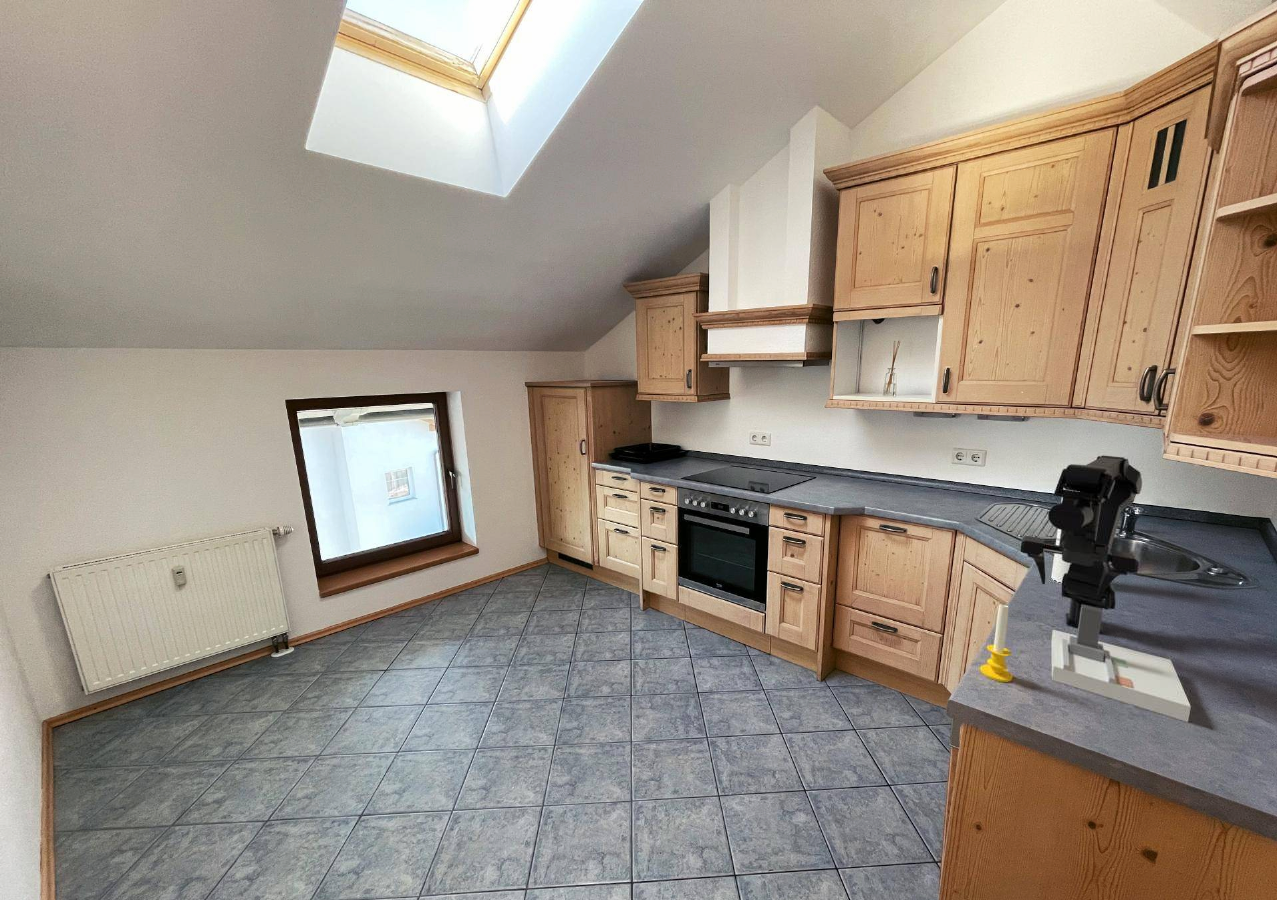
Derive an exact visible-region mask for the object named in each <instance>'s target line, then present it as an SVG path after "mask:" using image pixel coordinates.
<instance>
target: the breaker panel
mask: <svg viewBox="0 0 1277 900" xmlns="http://www.w3.org/2000/svg"><path fill="white" fill-rule="evenodd" d="M1070 636H1072V637H1076V638H1077V634H1076V635H1075V634H1072V633H1067V632H1064V631H1061V630H1060V631H1059V630H1056V629H1052V635H1051V641H1050V643H1051V644H1050V645H1051V680H1052V681H1055V682H1057V683H1061V684H1064V685H1066V686H1070V687H1072V688H1073V687H1074V688H1076V689H1079V690H1083V691H1086V692H1090V693H1093V694H1096V695H1099V696H1102V697H1105V698H1109V699H1112V700H1115V701H1118V702H1121V703H1125V704H1128V705H1131V706H1134V707H1138V708H1141V709H1145V710H1148V711H1151V712H1153V713H1157V714H1161V715H1164V716H1167V717H1170V718H1174V719H1175V720H1180V721H1183V722H1187V723H1188V722H1189V717H1190V712H1191V704H1190V702H1189V699H1188V697H1187V694H1186V693H1185V690H1184V688H1183V685H1182V683H1181V681H1180V679H1179V676H1178V674H1177V672H1176V669H1175V667H1174V665H1173V662H1172V661H1171V659H1168V658H1165V657H1160V656H1158V655H1153V654H1149V653H1147V652H1146V653H1145V652H1142V651H1137V650H1133V649H1130V648H1125V647H1122V646H1118V645H1113V644H1111V643H1106V642H1102V641H1099V640H1098V643H1099V644H1103V649H1104V658H1103V662H1101V661H1097V660H1094V659H1090V658H1087V657H1083V656H1079V655H1076V654H1072V653H1069V639H1070Z"/></svg>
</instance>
